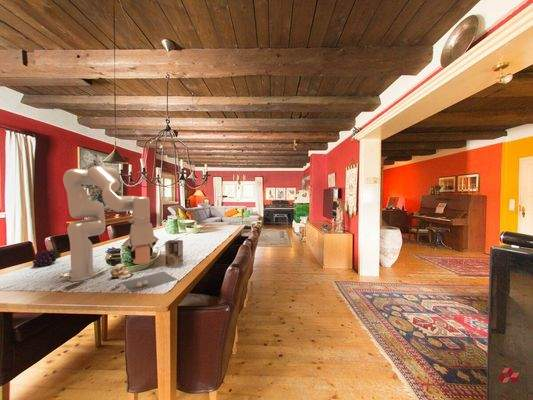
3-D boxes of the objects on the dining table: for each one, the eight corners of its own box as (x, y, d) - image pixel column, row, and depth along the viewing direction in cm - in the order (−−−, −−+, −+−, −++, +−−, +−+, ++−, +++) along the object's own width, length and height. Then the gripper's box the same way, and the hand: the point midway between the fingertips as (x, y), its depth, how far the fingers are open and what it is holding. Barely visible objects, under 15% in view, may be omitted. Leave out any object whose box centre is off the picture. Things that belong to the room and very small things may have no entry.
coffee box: (183, 264, 149) (183, 240, 148) (178, 267, 142) (178, 242, 142) (170, 263, 150) (170, 239, 149) (165, 267, 143) (164, 241, 143)
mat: (132, 294, 106) (132, 292, 106) (120, 283, 118) (120, 282, 118) (177, 280, 122) (177, 279, 122) (163, 272, 134) (163, 271, 134)
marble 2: (143, 286, 113) (143, 281, 113) (141, 285, 114) (141, 280, 114) (148, 285, 115) (148, 280, 114) (147, 283, 116) (146, 279, 116)
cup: (136, 264, 108) (136, 248, 108) (131, 261, 113) (131, 245, 112) (151, 261, 113) (151, 245, 113) (146, 258, 118) (146, 243, 118)
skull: (139, 272, 131) (130, 263, 124) (128, 289, 124) (118, 280, 117) (122, 269, 134) (112, 260, 127) (111, 286, 127) (99, 278, 120)
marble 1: (137, 288, 111) (137, 283, 111) (136, 286, 112) (136, 282, 112) (143, 286, 113) (143, 282, 112) (141, 285, 114) (141, 280, 114)
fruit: (31, 272, 140) (53, 259, 154) (47, 270, 140) (67, 257, 154) (23, 258, 137) (46, 246, 151) (40, 256, 137) (61, 244, 151)
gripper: (123, 224, 103) (124, 262, 104) (162, 220, 116) (162, 254, 117) (119, 222, 108) (119, 259, 109) (156, 219, 121) (156, 252, 122)
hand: (141, 256), depth 113 cm, fingers closed on cup, 7 cm apart
